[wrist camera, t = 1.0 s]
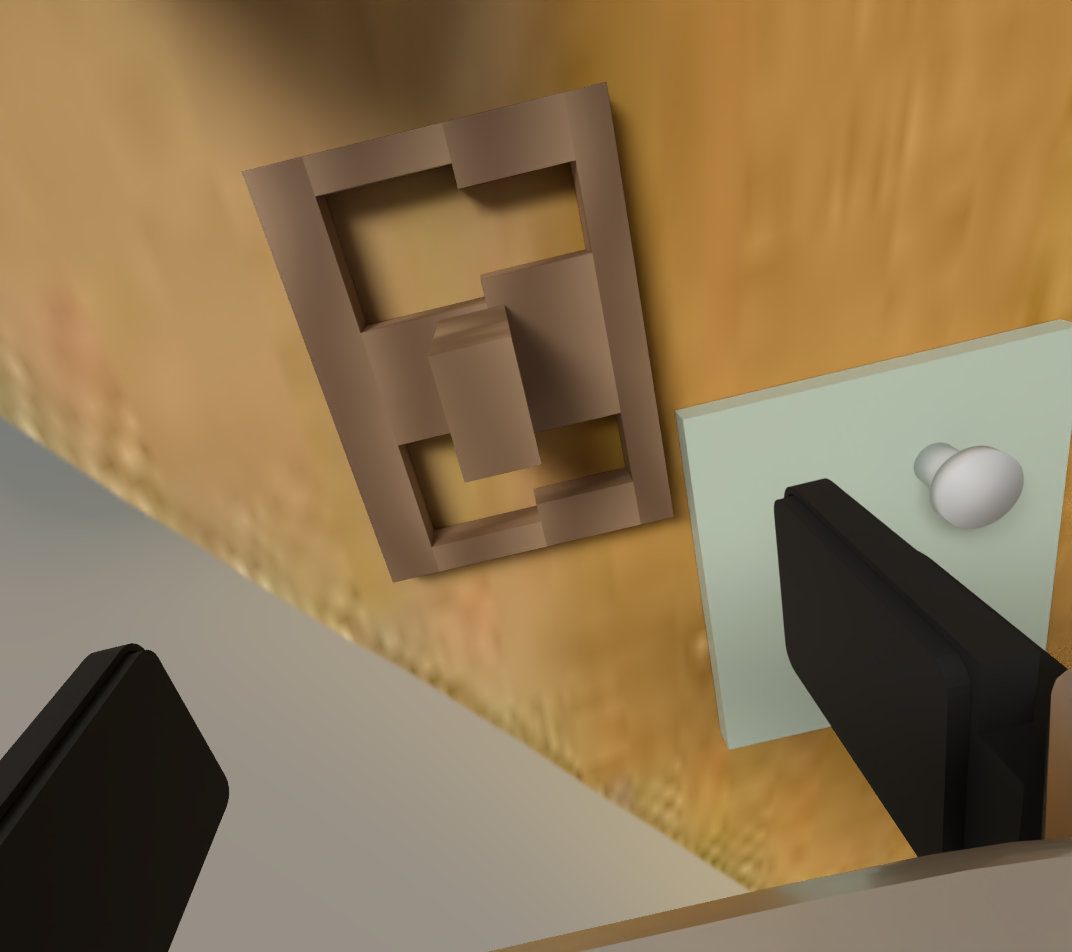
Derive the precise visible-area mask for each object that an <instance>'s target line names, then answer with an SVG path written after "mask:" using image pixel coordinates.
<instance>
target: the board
mask: <svg viewBox="0 0 1072 952" xmlns="http://www.w3.org/2000/svg"><path fill="white" fill-rule="evenodd" d="M675 415H676V422H677V429H678V436H679V443H680V450H681V457H682V464H683V471H684V478H685V485H686V492H687V499H688V506H689V513H690V520H691V527H692V534H693V541H694V548H695V555H696V562H697V569H698V576H699V583H700V590H701V597H702V604H703V611H704V618H705V625H706V632H707V638H708V645H709V652H710V659H711V666H712V673H713V680H714V687H715V694H716V701H717V708H718V715H719V722H720V729H721V733H722V736H723V738H724V740H725V742H726V745H727V747H728V749H729V750H730V749H735V748H739V747H743V746H748V745H752V744H756V743H761V742H765V741H770V740H774V739H778V738H783V737H787V736H792V735H796V734H800V733H805V732H809V731H813V730H818V729H822V728H827V727H831V725H830V724H829V722H828V721H827V719H826V718H825V716H824V715H823V713H822V712H821V710H820V709H819V707H818V706H817V704H816V703H815V701H814V700H813V698H812V697H811V695H810V694H809V692H808V691H807V689H806V688H805V686H804V685H803V683H802V682H801V680H800V679H799V677H798V676H797V674H796V673H795V671H794V669H793V668H792V665H791V663H790V661H789V658H788V655H787V651H786V645H785V634H784V623H783V611H782V600H781V588H780V577H779V565H778V554H777V542H776V531H775V519H774V502H775V501H776V500H778V499H782V498H784V493H785V490H786V488H787V487H790V486H794V485H798V484H803V483H807V482H811V481H815V480H819V479H824V478H827V479H829V480H831V481H832V482H834V483H835V484H836V485H837V486H839V487H840V488H841V489H842V490H843V491H845V492H846V493H847V494H848V495H850V496H851V497H852V498H853V499H855V500H856V501H857V502H858V503H859V504H861V505H862V506H863V507H864V508H866V509H867V510H868V511H869V512H871V513H872V514H873V515H874V516H875V517H877V518H878V519H879V520H880V521H882V522H883V523H884V524H885V525H887V526H888V527H889V528H890V529H891V530H893V531H894V532H895V533H896V534H898V535H899V536H900V537H901V538H902V539H904V540H905V541H906V542H907V543H909V544H910V545H911V546H912V547H914V548H915V549H916V550H917V551H920V552H921V553H923V554H925V555H926V556H928V557H929V558H931V559H932V560H933V561H934V562H936V563H937V564H938V565H939V566H941V567H942V568H943V569H944V570H946V571H947V572H948V573H949V574H950V575H952V576H953V577H954V578H955V579H957V580H958V581H959V582H960V583H962V584H963V585H964V586H965V587H967V588H968V589H969V590H970V591H972V592H973V593H974V594H975V595H976V596H978V597H979V598H980V599H981V600H983V601H984V602H985V603H986V604H988V605H989V606H990V607H991V608H993V609H994V610H995V611H996V612H998V613H999V614H1000V615H1001V616H1003V617H1004V618H1005V619H1006V620H1007V621H1009V622H1010V623H1011V624H1012V625H1014V626H1015V627H1016V628H1017V629H1019V630H1020V631H1021V632H1022V633H1024V634H1025V635H1026V636H1027V637H1029V638H1030V639H1031V640H1032V641H1033V642H1035V643H1036V644H1037V645H1038V646H1040V647H1041V648H1042V649H1043V650H1045V651H1046V643H1047V634H1048V626H1049V617H1050V609H1051V600H1052V592H1053V583H1054V574H1055V566H1056V557H1057V549H1058V540H1059V532H1060V523H1061V515H1062V506H1063V497H1064V489H1065V480H1066V472H1067V463H1068V455H1069V446H1070V438H1071V429H1072V322H1069V321H1065V320H1060V319H1058V320H1054V321H1050V322H1046V323H1042V324H1037V325H1033V326H1029V327H1025V328H1020V329H1016V330H1012V331H1008V332H1004V333H999V334H995V335H991V336H987V337H982V338H978V339H974V340H970V341H966V342H961V343H957V344H953V345H949V346H945V347H940V348H936V349H932V350H928V351H923V352H919V353H915V354H911V355H907V356H902V357H898V358H894V359H890V360H886V361H881V362H877V363H873V364H869V365H864V366H860V367H856V368H852V369H848V370H843V371H839V372H835V373H831V374H826V375H822V376H818V377H814V378H810V379H805V380H801V381H797V382H793V383H789V384H784V385H780V386H776V387H772V388H767V389H763V390H759V391H755V392H751V393H746V394H742V395H738V396H734V397H730V398H725V399H721V400H717V401H713V402H708V403H704V404H700V405H696V406H692V407H687V408H683V409H679V410H675Z"/></svg>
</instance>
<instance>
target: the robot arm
mask: <svg viewBox="0 0 1072 952" xmlns="http://www.w3.org/2000/svg"><path fill="white" fill-rule="evenodd" d="M774 519H775V531H776V542H777V554H778V565H779V577H780V588H781V600H782V611H783V623H784V634H785V645H786V651H787V655H788V658H789V661H790V663H791V665H792V668H793V669H794V671H795V673H796V674H797V676H798V677H799V679H800V680H801V682H802V683H803V685H804V686H805V688H806V689H807V691H808V692H809V694H810V695H811V697H812V698H813V700H814V701H815V703H816V704H817V706H818V707H819V709H820V710H821V712H822V713H823V715H824V716H825V718H826V719H827V721H828V722H829V724H830V725H831V727H832V728H833V730H834V731H835V733H836V734H837V736H838V737H839V739H840V740H841V742H842V743H843V745H844V746H845V748H846V749H847V751H848V752H849V754H850V755H851V757H852V759H853V760H854V762H855V763H856V765H857V766H858V768H859V769H860V771H861V772H862V774H863V775H864V777H865V778H866V780H867V781H868V783H869V784H870V786H871V787H872V789H873V790H874V792H875V793H876V795H877V796H878V798H879V799H880V801H881V802H882V804H883V805H884V807H885V808H886V810H887V811H888V813H889V814H890V816H891V817H892V819H893V820H894V822H895V823H896V825H897V826H898V828H899V829H900V831H901V832H902V834H903V835H904V837H905V838H906V840H907V841H908V843H909V844H910V846H911V847H912V849H913V850H914V852H915V853H916V855H917V856H918V857H917V858H912V859H907V860H902V861H898V862H893V863H888V864H883V865H878V866H873V867H868V868H864V869H859V870H854V871H849V872H844V873H839V874H835V875H830V876H825V877H820V878H815V879H810V880H806V881H801V882H796V883H791V884H786V885H781V886H777V887H772V888H767V889H763V890H759V891H754V892H750V893H745V894H741V895H736V896H732V897H727V898H723V899H719V900H715V901H710V902H705V903H701V904H696V905H692V906H688V907H683V908H679V909H674V910H670V911H665V912H661V913H657V914H652V915H648V916H643V917H639V918H635V919H630V920H626V921H621V922H617V923H613V924H608V925H603V926H599V927H595V928H590V929H586V930H581V931H577V932H573V933H568V934H564V935H559V936H555V937H550V938H546V939H541V940H537V941H533V942H528V943H524V944H520V945H516V946H511V947H507V948H502V949H498V950H494V951H489V952H1072V668H1069V669H1067V668H1066V667H1064V666H1063V665H1062V664H1061V663H1060V662H1058V661H1057V660H1056V659H1055V658H1053V657H1052V656H1051V655H1050V654H1048V653H1047V652H1046V651H1045V650H1043V649H1042V648H1041V647H1040V646H1038V645H1037V644H1036V643H1035V642H1033V641H1032V640H1031V639H1030V638H1029V637H1027V636H1026V635H1025V634H1024V633H1022V632H1021V631H1020V630H1019V629H1017V628H1016V627H1015V626H1014V625H1012V624H1011V623H1010V622H1009V621H1007V620H1006V619H1005V618H1004V617H1003V616H1001V615H1000V614H999V613H998V612H996V611H995V610H994V609H993V608H991V607H990V606H989V605H988V604H986V603H985V602H984V601H983V600H981V599H980V598H979V597H978V596H976V595H975V594H974V593H973V592H972V591H970V590H969V589H968V588H967V587H965V586H964V585H963V584H962V583H960V582H959V581H958V580H957V579H955V578H954V577H953V576H952V575H950V574H949V573H948V572H947V571H946V570H944V569H943V568H942V567H941V566H939V565H938V564H937V563H936V562H934V561H933V560H932V559H931V558H929V557H928V556H926V555H925V554H923V553H921V552H920V551H917V550H916V549H915V548H914V547H912V546H911V545H910V544H909V543H907V542H906V541H905V540H904V539H902V538H901V537H900V536H899V535H898V534H896V533H895V532H894V531H893V530H891V529H890V528H889V527H888V526H887V525H885V524H884V523H883V522H882V521H880V520H879V519H878V518H877V517H875V516H874V515H873V514H872V513H871V512H869V511H868V510H867V509H866V508H864V507H863V506H862V505H861V504H859V503H858V502H857V501H856V500H855V499H853V498H852V497H851V496H850V495H848V494H847V493H846V492H845V491H843V490H842V489H841V488H840V487H839V486H837V485H836V484H835V483H834V482H832V481H831V480H829V479H827V478H824V479H819V480H815V481H811V482H807V483H803V484H798V485H794V486H790V487H787V488H786V490H785V493H784V498H782V499H778V500H776V501H775V502H774ZM228 799H229V786H228V781H227V779H226V777H225V775H224V773H223V771H222V769H221V767H220V766H219V764H218V762H217V761H216V759H215V757H214V755H213V753H212V752H211V750H210V749H209V746H208V745H207V743H206V741H205V739H204V737H203V736H202V734H201V732H200V730H199V729H198V727H197V725H196V724H195V722H194V720H193V718H192V716H191V715H190V713H189V711H188V709H187V707H186V706H185V704H184V702H183V701H182V699H181V697H180V695H179V693H178V692H177V690H176V688H175V686H174V685H173V683H172V681H171V679H170V678H169V676H168V674H167V672H166V670H165V669H164V667H163V665H162V663H161V662H160V660H159V658H158V657H157V655H156V654H155V653H154V652H152V651H151V650H144V648H142V647H141V646H139V645H138V644H133V643H131V644H127V645H123V646H119V647H115V648H110V649H106V650H102V651H98V652H94V653H91V654H90V655H89V656H87V657H86V658H85V659H84V660H83V662H82V663H81V664H80V665H79V666H78V668H77V669H76V670H75V671H74V672H73V674H72V675H71V676H70V677H69V679H68V680H67V681H66V682H65V683H64V684H63V686H62V687H61V688H60V689H59V690H58V692H57V693H56V694H55V696H53V698H52V699H51V700H50V701H49V703H48V704H47V705H46V706H45V707H44V708H43V710H42V711H41V712H40V713H39V714H38V716H37V717H36V718H35V719H34V720H33V722H32V723H31V724H30V725H29V727H28V728H27V729H26V730H25V731H24V732H23V734H22V735H21V736H20V737H19V738H18V740H17V741H16V742H15V743H14V744H13V746H12V747H11V748H10V749H9V750H8V752H7V753H6V754H5V755H4V756H3V758H2V759H1V760H0V952H168V950H169V948H170V945H171V943H172V940H173V938H174V935H175V933H176V930H177V928H178V925H179V923H180V921H181V918H182V916H183V913H184V911H185V908H186V906H187V903H188V901H189V898H190V896H191V893H192V891H193V888H194V886H195V883H196V881H197V878H198V876H199V874H200V871H201V868H202V866H203V864H204V861H205V859H206V856H207V854H208V851H209V849H210V846H211V844H212V841H213V839H214V836H215V834H216V831H217V829H218V826H219V824H220V821H221V819H222V816H223V814H224V812H225V809H226V807H227V803H228Z"/></svg>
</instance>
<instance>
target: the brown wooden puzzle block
mask: <svg viewBox="0 0 1072 952" xmlns="http://www.w3.org/2000/svg"><path fill="white" fill-rule="evenodd" d="M567 162H570V164H571V170H572V175H573V181H574V186H575V192H576V197H577V203H578V208H579V214H580V219H581V225H582V230H583V236H584V241H585V247H586V250H581V251H577V252H573V253H569V254H565V255H561V256H557V257H553V258H548V259H544V260H540V261H536V262H532V263H528V264H524V265H519V266H515V267H511V268H507V269H503V270H499V271H495V272H491V273H486V274H482V275H481V283H482V287H483V291H484V295H485V297H482V298H478V299H473V300H469V301H465V302H461V303H457V304H453V305H449V306H444V307H440V308H436V309H432V310H428V311H424V312H420V313H415V314H411V315H407V316H403V317H399V318H395V319H391V320H386V321H382V322H378V323H374V324H370V325H367V324H366V320H365V317H364V314H363V311H362V308H361V305H360V302H359V299H358V296H357V293H356V290H355V287H354V284H353V281H352V278H351V274H350V271H349V268H348V265H347V262H346V259H345V256H344V253H343V250H342V247H341V244H340V241H339V238H338V235H337V232H336V228H335V225H334V222H333V219H332V216H331V213H330V210H329V207H328V204H327V201H326V198H325V196H326V195H330V194H334V193H338V192H342V191H346V190H350V189H354V188H358V187H362V186H366V185H370V184H375V183H379V182H383V181H387V180H391V179H395V178H399V177H403V176H407V175H411V174H415V173H419V172H423V171H428V170H432V169H436V168H440V167H444V166H448V165H452V167H453V171H454V175H455V179H456V183H457V187H458V189H460V188H464V187H468V186H472V185H477V184H481V183H485V182H489V181H493V180H497V179H501V178H505V177H509V176H513V175H517V174H522V173H526V172H530V171H534V170H538V169H542V168H546V167H550V166H554V165H558V164H563V163H567ZM242 174H243V176H244V179H245V182H246V185H247V187H248V190H249V193H250V195H251V198H252V201H253V204H254V206H255V209H256V212H257V214H258V217H259V220H260V223H261V225H262V228H263V231H264V233H265V236H266V239H267V242H268V244H269V247H270V250H271V252H272V255H273V258H274V261H275V263H276V266H277V269H278V271H279V274H280V277H281V280H282V282H283V285H284V288H285V290H286V293H287V296H288V299H289V301H290V304H291V307H292V309H293V312H294V315H295V318H296V320H297V323H298V326H299V328H300V331H301V334H302V337H303V339H304V342H305V345H306V347H307V350H308V353H309V356H310V358H311V361H312V364H313V366H314V369H315V372H316V375H317V377H318V380H319V383H320V385H321V388H322V391H323V394H324V396H325V399H326V402H327V404H328V407H329V410H330V413H331V415H332V418H333V421H334V423H335V426H336V429H337V432H338V434H339V437H340V440H341V442H342V445H343V448H344V451H345V453H346V456H347V459H348V461H349V464H350V467H351V470H352V472H353V475H354V478H355V480H356V483H357V486H358V489H359V491H360V494H361V497H362V499H363V502H364V505H365V508H366V510H367V513H368V516H369V518H370V521H371V524H372V527H373V529H374V532H375V535H376V537H377V540H378V543H379V546H380V548H381V551H382V554H383V556H384V559H385V562H386V565H387V567H388V570H389V573H390V575H391V578H392V581H393V582H397V581H402V580H406V579H410V578H415V577H419V576H423V575H427V574H432V573H436V572H440V571H444V570H449V569H453V568H457V567H461V566H466V565H470V564H474V563H479V562H483V561H487V560H491V559H496V558H500V557H504V556H508V555H513V554H517V553H521V552H525V551H530V550H534V549H538V548H543V547H547V546H551V545H555V544H560V543H564V542H568V541H572V540H577V539H581V538H585V537H589V536H594V535H598V534H602V533H607V532H611V531H615V530H619V529H624V528H628V527H632V526H636V525H641V524H645V523H649V522H653V521H658V520H662V519H666V518H671V517H674V515H673V509H672V502H671V496H670V489H669V483H668V476H667V470H666V463H665V457H664V450H663V444H662V437H661V431H660V424H659V418H658V412H657V405H656V399H655V392H654V386H653V379H652V373H651V366H650V360H649V353H648V347H647V340H646V334H645V328H644V321H643V315H642V308H641V302H640V295H639V289H638V282H637V276H636V269H635V263H634V256H633V250H632V243H631V237H630V231H629V224H628V218H627V211H626V205H625V198H624V192H623V185H622V179H621V172H620V166H619V159H618V153H617V147H616V140H615V134H614V127H613V121H612V114H611V108H610V101H609V95H608V88H607V82H603V83H599V84H595V85H591V86H587V87H583V88H579V89H575V90H571V91H567V92H563V93H559V94H555V95H551V96H547V97H543V98H538V99H534V100H530V101H526V102H522V103H518V104H514V105H510V106H506V107H502V108H498V109H494V110H490V111H486V112H482V113H478V114H473V115H469V116H465V117H461V118H457V119H453V120H449V121H445V122H441V123H437V124H433V125H429V126H425V127H421V128H417V129H413V130H408V131H404V132H400V133H396V134H392V135H388V136H384V137H380V138H376V139H372V140H368V141H364V142H360V143H356V144H352V145H348V146H344V147H339V148H335V149H331V150H327V151H323V152H319V153H315V154H311V155H307V156H303V157H299V158H295V159H291V160H287V161H283V162H279V163H274V164H270V165H266V166H262V167H258V168H254V169H250V170H246V171H242ZM614 414H616V417H617V422H618V428H619V433H620V439H621V444H622V450H623V455H624V461H625V466H626V467H625V468H621V469H617V470H613V471H608V472H604V473H600V474H596V475H592V476H587V477H583V478H579V479H575V480H570V481H566V482H562V483H558V484H553V485H549V486H545V487H541V488H536V489H534V493H535V499H536V504H537V506H534V507H530V508H525V509H521V510H517V511H513V512H508V513H504V514H500V515H496V516H491V517H487V518H483V519H479V520H474V521H470V522H466V523H462V524H457V525H453V526H449V527H445V528H440V529H436V530H434V529H433V526H432V523H431V520H430V517H429V514H428V511H427V508H426V505H425V501H424V498H423V495H422V492H421V489H420V486H419V483H418V480H417V477H416V474H415V471H414V468H413V465H412V462H411V459H410V455H409V452H408V449H407V446H406V443H411V442H415V441H419V440H423V439H427V438H432V437H436V436H440V435H444V434H448V433H450V434H451V437H452V441H453V444H454V447H455V451H456V454H457V458H458V461H459V464H460V468H461V471H462V475H463V478H464V481H465V482H470V481H474V480H478V479H482V478H487V477H491V476H495V475H499V474H503V473H508V472H512V471H516V470H520V469H525V468H529V467H533V466H537V465H541V460H540V456H539V451H538V447H537V442H536V438H535V433H538V432H542V431H546V430H551V429H555V428H559V427H563V426H567V425H572V424H576V423H580V422H584V421H588V420H593V419H597V418H601V417H605V416H609V415H614Z"/></svg>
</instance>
